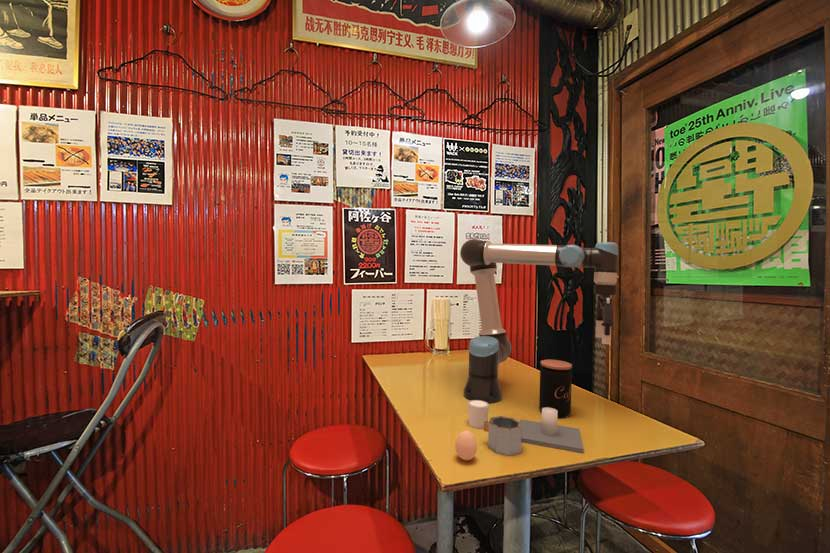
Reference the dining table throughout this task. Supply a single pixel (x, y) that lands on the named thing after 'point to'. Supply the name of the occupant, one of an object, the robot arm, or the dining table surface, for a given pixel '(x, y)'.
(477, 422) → the tan cup
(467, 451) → the egg
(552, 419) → the grey plate with knob
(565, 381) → the coffee jar
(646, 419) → the dining table surface
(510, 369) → the dining table surface
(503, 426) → the mug
